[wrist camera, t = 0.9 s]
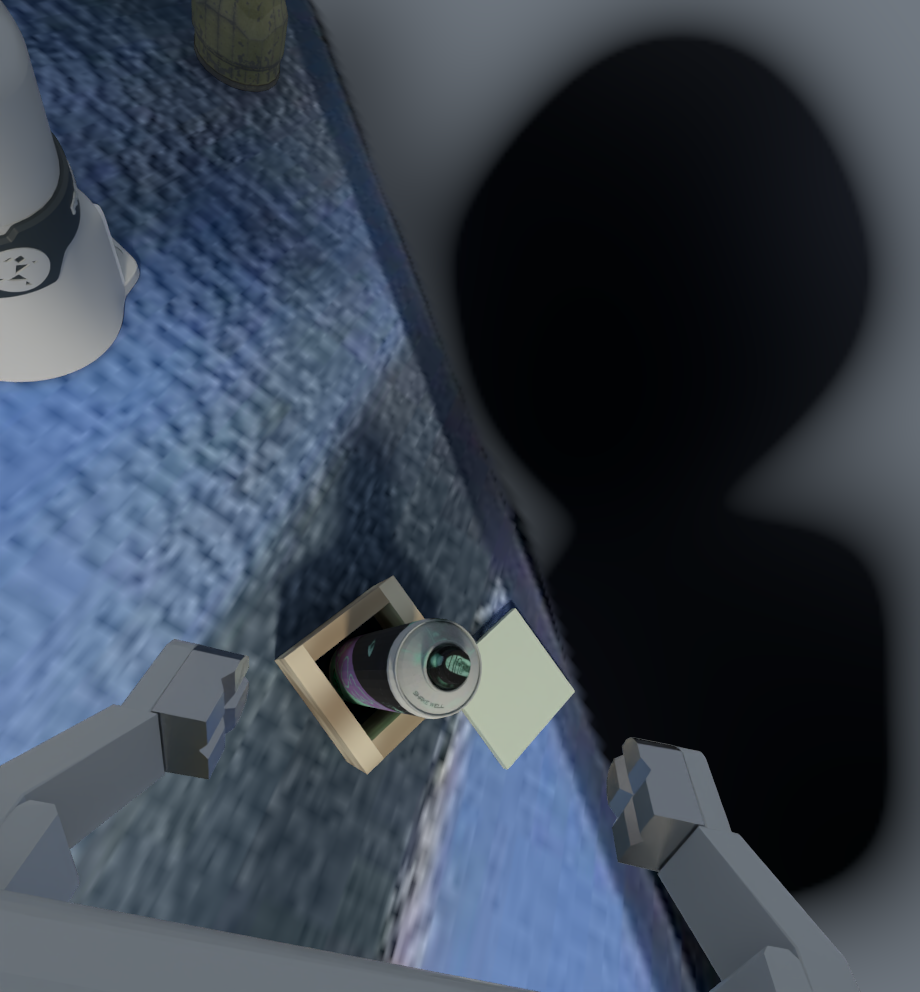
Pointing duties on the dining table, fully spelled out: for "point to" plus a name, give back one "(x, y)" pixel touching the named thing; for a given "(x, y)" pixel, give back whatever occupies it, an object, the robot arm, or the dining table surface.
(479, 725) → the sage pad
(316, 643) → the can holder
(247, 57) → the olive green cylinder
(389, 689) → the spray can
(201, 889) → the dining table surface
